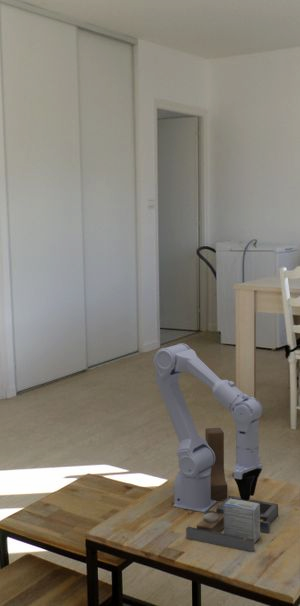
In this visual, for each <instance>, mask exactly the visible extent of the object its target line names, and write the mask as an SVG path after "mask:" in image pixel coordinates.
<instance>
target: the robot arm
mask: <svg viewBox="0 0 300 606" xmlns="http://www.w3.org/2000/svg"><path fill="white" fill-rule="evenodd" d="M152 363H153V365H154V368H155V382H156V385H157V387H158V390H159V393H160V395H161V398H162V400H163V404H164V406H165V409H166V411H167V413H168V416H169V419H170V421H171V423H172V427H173V429H174V432H175V433H176V437H177V439H178V442H179V445H178V448H177V451H176V455H177V458H178V468H179V471H178V472H177V473H176V475H175V478H174V485H173V489H174V490H173V494H174V497H173V499H174V501H173V502H174V504H173V505H172V506H173V508H179V509H184V510H190V511H194V512H199V513H205V511H206V510H208V511H210V509H211V508H212V507H213V506H214V505H215V504H216V503H217V500H211V467H212V466H213V465H214V463H215V454H214V452H213V450H212V449H211V448H210V447H209V445H208V444H207V441H206V440H205V438H204V437H202V436H201V435H199V433H198V431H197V428H196V425H195V423H194V420H193V418H192V415H191V412H190V409H189V407H188V404H187V403H186V400H185V397H184V395H183V392H182V390H181V387H180V384H179V378H180V377H181V375H182V373H189V374H191V375H193V377H195V378H197V379H198V380H199V381H200V382H201V383H203V384H204V385H206V386H207V387H209V389H211V390H212V396H213V398H215V399H216V400H217V401H218V402H219V403H220V404H221V405H222V406H223V407H225V408H226V409H227V410H228V411H229V412H230V413H231V417H232V419H233V421H234V423H235V435H236V436H235V443H236V444H235V453H236V455H235V463H234V464H235V465H234V470H233V472H232V478H233V480H234V481H235V483H236V486H237V489H238V493H239V497H240V498H241V499H242V500H249V499H251V497H252V496H254V495H255V492H256V489H257V484H258V480H259V477H260V475H261V473H262V471H263V467H264V464H263V463H261V454H260V453H259V452H260V451H259V447H260V446H259V444H260V443H259V442H260V441H259V438H260V437H259V436H260V435H259V434H260V433H259V429H260V427H259V424H260V423H259V422H260V421H259V418H261V416H262V415H263V410H264V409H263V406H262V403H261V402H260V401H259V399H258V398H257V397H256V398H255V397H251V396H249V395H248V394H246V393H243V391H242V390H240V389H239V388H238V387H237V386H236V385H235V382H234V381H233V380H228V379H220V377H219V375H217V374H215V372H213V371H212V369H210V367H208V366H207V365H206V363H204V362H203V361H202V360H201V359H200V358H199V357H198V355H197V353H196V351H195V350H194V349H192V348H190V346H189V344H186V343H182V342H180V343H176V344H175V345H171V346H167V347H161V348H160V349H158V351H156V353H155V355H154V358H153V359H152Z"/></svg>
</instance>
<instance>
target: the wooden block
mask: <svg viewBox="0 0 300 606" xmlns="http://www.w3.org/2000/svg"><path fill="white" fill-rule="evenodd" d="M204 433H205V434H204V435H205V436H204V437H205V438H204V439H205V440H206V441H207V444H208V445H209V447H210V448H211V449H212V450H213V452H214V454H215V463H214V465H213V466H212V467H211V500H215V501H225V500H226V499H227V498H228V483H227V481H226V475H225V434H224V433H225V432H224V431H223V429H222V428H221V427H207V428H205V432H204Z"/></svg>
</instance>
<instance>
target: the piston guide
mask: <svg viewBox="0 0 300 606" xmlns="http://www.w3.org/2000/svg"><path fill="white" fill-rule="evenodd" d="M210 512H213V513H218V514H224V513H219V512H216V511H212V510H206V511H205V512H204V515H205V514H208V513H210ZM270 532H271V524H270V522H268V521H263V520H262V519H261V520H260V533H264V534H269V533H270ZM185 538H186V539H188V540H194V541H197V542H202V543H206V544H207V543H208V544H213V545H216V546H222V547H227V548H231V549H237V550H241V551H247V552H251V553H253V552H254V551H255V543H254V540H253V539H248V537H245V538H243V537H238V536H233V535H228V534H224V532H223V533H222V532H219V533H218V532H213V531H208V530H203V529H198V528H197V527H192V526H187V527H186V529H185Z"/></svg>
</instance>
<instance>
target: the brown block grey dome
mask: <svg viewBox="0 0 300 606" xmlns="http://www.w3.org/2000/svg"><path fill="white" fill-rule="evenodd" d="M196 528H198V529H203V530H208V531H213V532H218V533H221V530H224V514H218V513H213V512H210V513H208V514H205V513H204V515H203V519H202V520H201V521H200V522H198V523H197V524H196Z"/></svg>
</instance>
